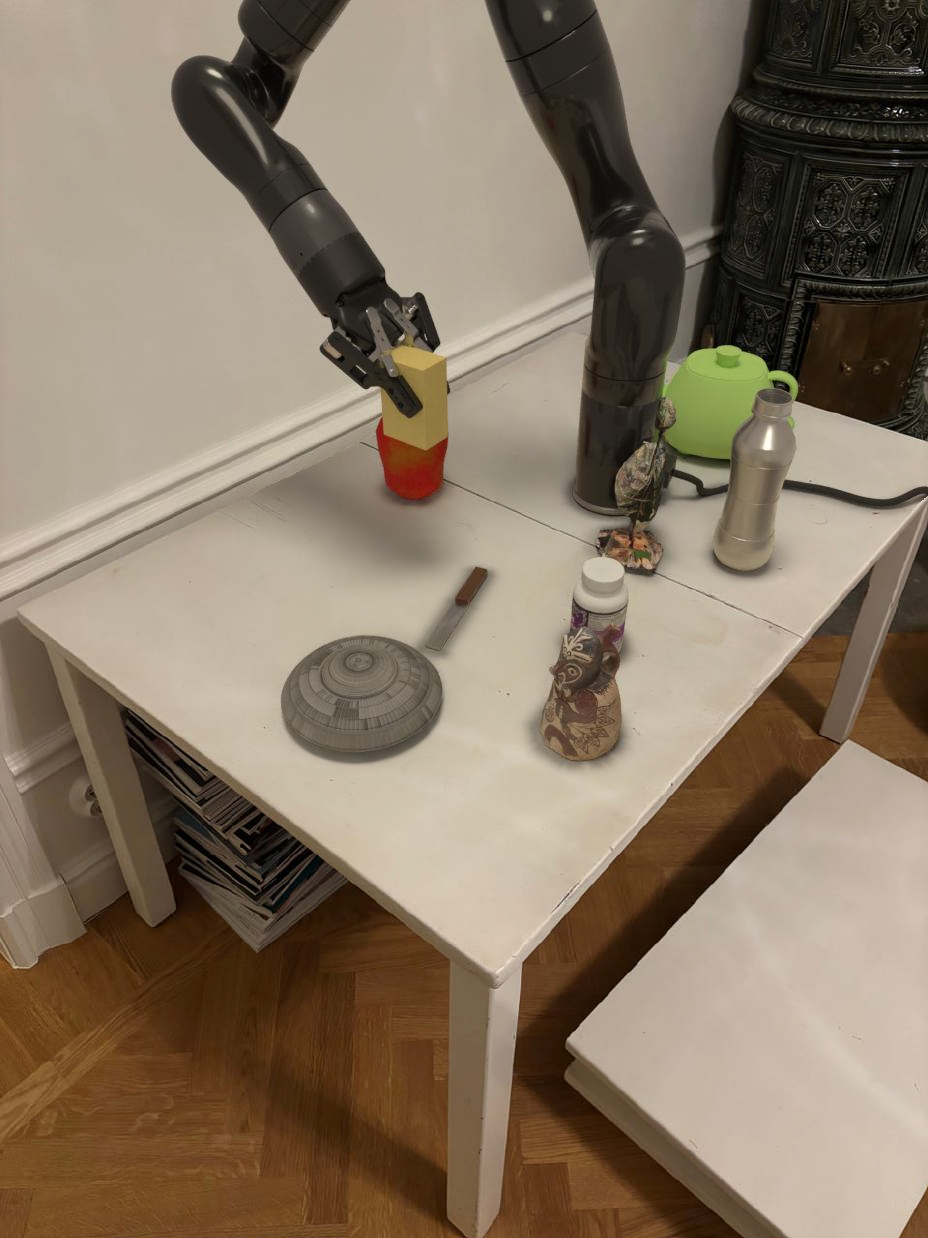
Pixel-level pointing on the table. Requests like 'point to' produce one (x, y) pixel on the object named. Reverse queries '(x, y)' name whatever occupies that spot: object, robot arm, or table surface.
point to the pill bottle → (600, 598)
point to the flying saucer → (361, 694)
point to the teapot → (717, 398)
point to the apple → (411, 466)
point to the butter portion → (430, 388)
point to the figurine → (584, 696)
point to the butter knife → (457, 609)
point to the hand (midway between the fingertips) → (429, 404)
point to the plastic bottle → (756, 482)
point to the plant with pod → (640, 499)
